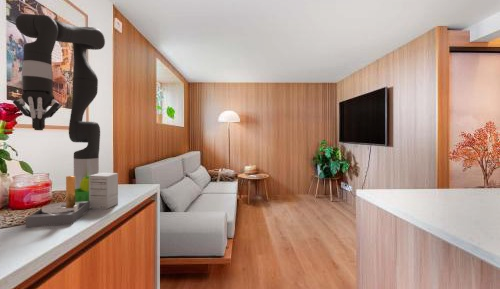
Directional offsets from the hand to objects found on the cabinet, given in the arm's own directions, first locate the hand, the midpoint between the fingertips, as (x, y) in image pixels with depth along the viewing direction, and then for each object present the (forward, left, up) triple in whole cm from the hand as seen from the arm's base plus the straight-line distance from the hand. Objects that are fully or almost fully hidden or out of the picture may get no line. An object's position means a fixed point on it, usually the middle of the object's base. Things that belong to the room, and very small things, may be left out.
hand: (38, 130), depth 81 cm
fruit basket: (-17, +9, -29) cm, 35 cm away
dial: (+2, +7, -27) cm, 28 cm away
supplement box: (-9, +17, -29) cm, 35 cm away
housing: (+2, +7, -29) cm, 30 cm away
